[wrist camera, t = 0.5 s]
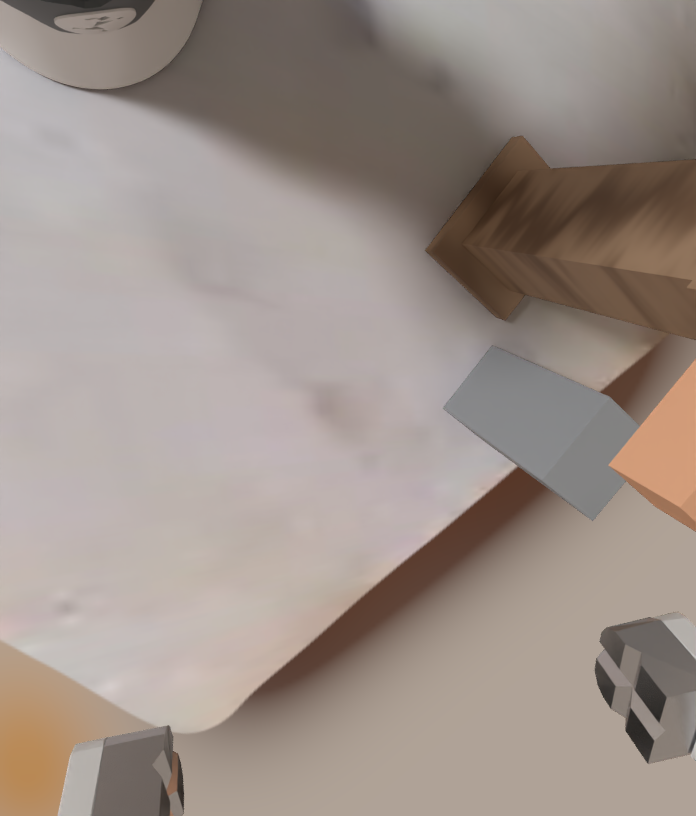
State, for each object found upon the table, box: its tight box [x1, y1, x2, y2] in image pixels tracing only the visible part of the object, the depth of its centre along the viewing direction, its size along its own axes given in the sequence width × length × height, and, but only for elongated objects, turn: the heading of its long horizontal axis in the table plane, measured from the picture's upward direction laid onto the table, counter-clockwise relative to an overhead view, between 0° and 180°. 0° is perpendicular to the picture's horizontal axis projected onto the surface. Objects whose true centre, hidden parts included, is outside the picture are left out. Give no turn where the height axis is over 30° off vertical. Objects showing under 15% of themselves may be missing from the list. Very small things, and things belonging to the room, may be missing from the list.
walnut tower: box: [425, 136, 696, 340], centre depth 38 cm, size 11×9×26 cm
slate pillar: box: [443, 345, 640, 521], centre depth 48 cm, size 7×6×15 cm
